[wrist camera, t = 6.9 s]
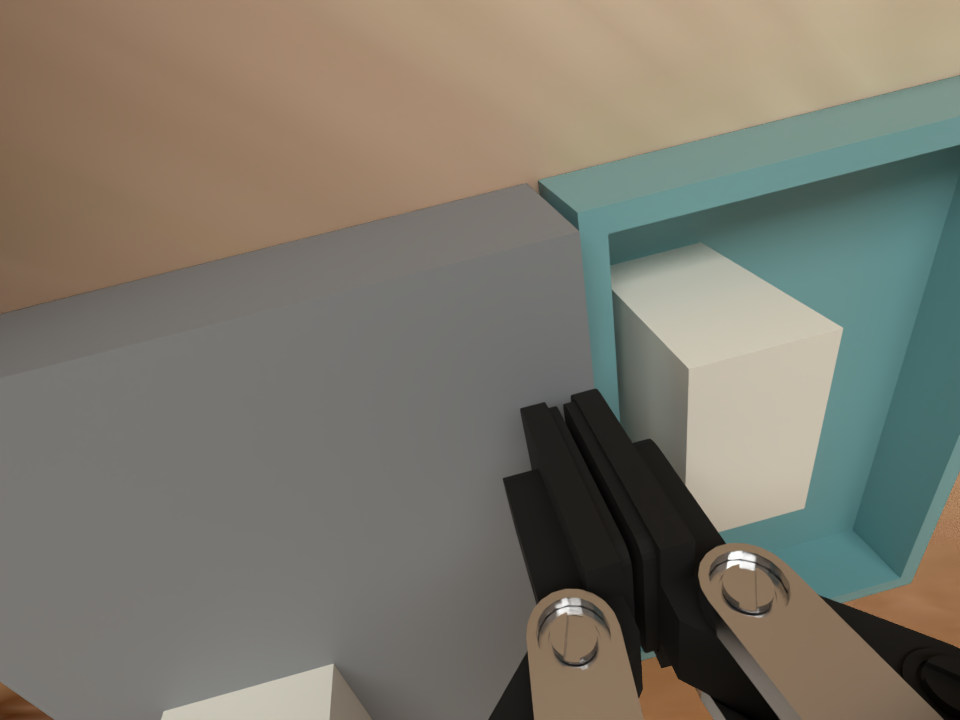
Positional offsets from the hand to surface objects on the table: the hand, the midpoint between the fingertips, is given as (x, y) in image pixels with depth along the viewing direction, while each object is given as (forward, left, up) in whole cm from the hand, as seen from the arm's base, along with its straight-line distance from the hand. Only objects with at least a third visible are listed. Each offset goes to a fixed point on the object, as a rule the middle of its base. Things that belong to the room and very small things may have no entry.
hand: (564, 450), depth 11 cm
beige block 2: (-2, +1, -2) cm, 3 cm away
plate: (+7, +5, -5) cm, 10 cm away
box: (-7, +5, -5) cm, 10 cm away
